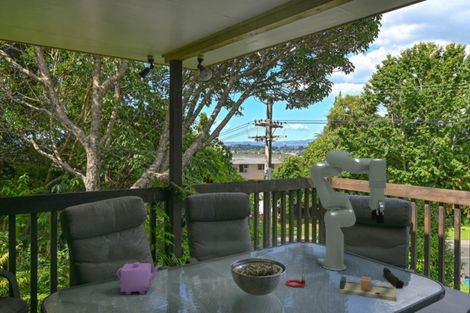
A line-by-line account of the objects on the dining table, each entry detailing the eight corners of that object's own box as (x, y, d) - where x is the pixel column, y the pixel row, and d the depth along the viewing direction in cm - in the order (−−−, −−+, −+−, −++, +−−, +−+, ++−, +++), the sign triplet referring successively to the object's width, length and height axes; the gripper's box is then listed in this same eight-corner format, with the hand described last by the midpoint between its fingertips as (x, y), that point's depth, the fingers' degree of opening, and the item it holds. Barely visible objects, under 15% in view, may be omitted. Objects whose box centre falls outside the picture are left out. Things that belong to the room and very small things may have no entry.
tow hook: (284, 287, 167) (304, 288, 165) (283, 259, 167) (303, 260, 165) (286, 281, 175) (306, 282, 173) (285, 255, 175) (304, 255, 173)
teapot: (114, 295, 155) (114, 267, 154) (119, 287, 165) (119, 260, 165) (161, 293, 157) (161, 265, 157) (163, 285, 167) (163, 258, 167)
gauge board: (338, 292, 160) (338, 282, 160) (341, 283, 171) (341, 274, 171) (396, 301, 151) (396, 290, 151) (395, 291, 162) (395, 281, 162)
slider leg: (360, 290, 158) (360, 281, 158) (361, 284, 165) (361, 276, 165) (370, 291, 157) (370, 282, 157) (370, 286, 163) (370, 277, 163)
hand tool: (404, 289, 165) (404, 279, 165) (395, 289, 166) (395, 279, 166) (389, 275, 184) (389, 266, 184) (381, 275, 184) (381, 266, 184)
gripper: (365, 183, 175) (365, 218, 175) (373, 186, 158) (373, 224, 158) (381, 183, 174) (381, 218, 174) (390, 186, 157) (390, 225, 157)
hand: (377, 221), depth 166 cm, fingers open, 9 cm apart
